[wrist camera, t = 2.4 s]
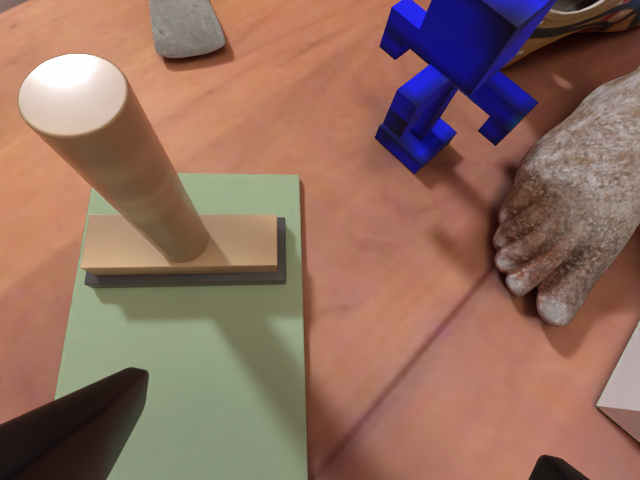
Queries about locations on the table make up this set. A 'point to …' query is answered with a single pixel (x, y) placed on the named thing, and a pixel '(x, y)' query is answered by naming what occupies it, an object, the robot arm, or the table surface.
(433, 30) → the figurine
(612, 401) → the flat green box
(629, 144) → the sculpture
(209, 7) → the decorative stone
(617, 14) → the sneaker
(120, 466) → the mat
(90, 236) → the wiper
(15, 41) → the table surface
